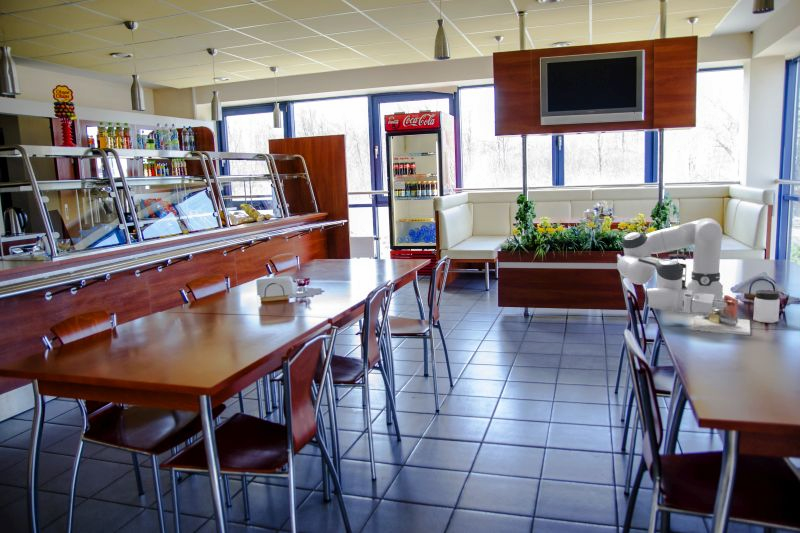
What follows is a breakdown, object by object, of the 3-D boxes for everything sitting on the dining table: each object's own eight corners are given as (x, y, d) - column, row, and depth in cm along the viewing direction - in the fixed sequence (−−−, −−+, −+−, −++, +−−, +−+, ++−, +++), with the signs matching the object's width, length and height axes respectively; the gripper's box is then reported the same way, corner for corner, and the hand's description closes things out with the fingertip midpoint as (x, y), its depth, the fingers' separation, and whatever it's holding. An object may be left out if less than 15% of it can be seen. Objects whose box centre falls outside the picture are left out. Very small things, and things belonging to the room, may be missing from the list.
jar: (770, 324, 252) (772, 294, 251) (749, 320, 259) (751, 291, 257) (781, 320, 257) (783, 292, 255) (761, 317, 264) (763, 289, 262)
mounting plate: (695, 317, 265) (695, 315, 265) (749, 322, 256) (749, 319, 256) (691, 330, 246) (692, 327, 246) (750, 335, 237) (750, 332, 236)
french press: (686, 289, 327) (688, 245, 323) (667, 288, 330) (669, 244, 327) (684, 285, 338) (686, 242, 334) (665, 284, 341) (667, 242, 337)
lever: (711, 311, 255) (713, 291, 254) (722, 311, 255) (723, 291, 254) (729, 320, 240) (730, 300, 238) (740, 320, 239) (741, 300, 238)
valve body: (698, 318, 261) (699, 309, 260) (708, 316, 262) (709, 308, 262) (729, 326, 245) (729, 318, 245) (739, 325, 247) (740, 317, 246)
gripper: (690, 303, 259) (727, 307, 252) (684, 313, 241) (725, 317, 235) (690, 288, 258) (728, 291, 251) (685, 297, 240) (726, 301, 234)
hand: (727, 304), depth 243 cm, fingers closed
